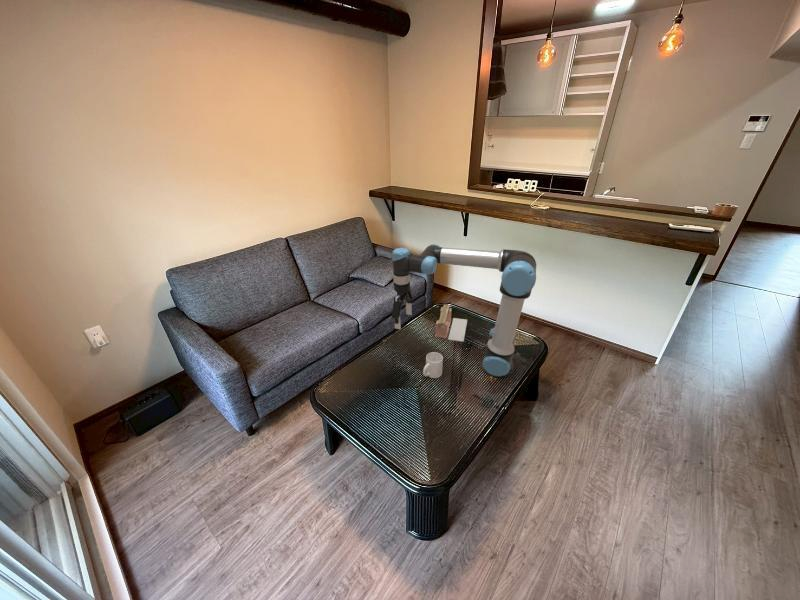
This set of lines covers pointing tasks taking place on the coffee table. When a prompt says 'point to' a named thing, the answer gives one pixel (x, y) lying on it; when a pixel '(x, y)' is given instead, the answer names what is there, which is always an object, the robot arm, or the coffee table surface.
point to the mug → (433, 365)
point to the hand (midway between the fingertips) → (403, 321)
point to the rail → (443, 316)
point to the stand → (444, 332)
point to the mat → (457, 330)
